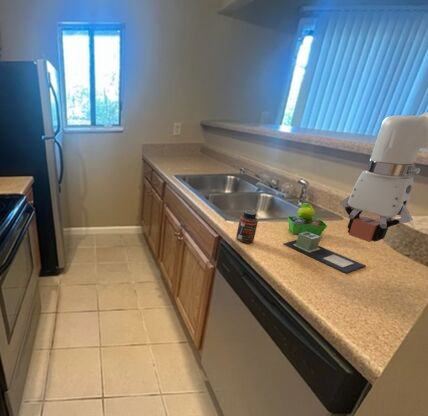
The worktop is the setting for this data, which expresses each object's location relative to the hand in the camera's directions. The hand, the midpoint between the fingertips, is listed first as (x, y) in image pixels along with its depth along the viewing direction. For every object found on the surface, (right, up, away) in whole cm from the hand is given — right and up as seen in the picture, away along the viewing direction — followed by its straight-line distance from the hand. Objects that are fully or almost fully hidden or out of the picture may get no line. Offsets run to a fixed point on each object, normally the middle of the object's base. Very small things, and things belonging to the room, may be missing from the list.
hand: (364, 235), depth 73 cm
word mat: (+5, -9, +20) cm, 22 cm away
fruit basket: (+10, -2, +36) cm, 38 cm away
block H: (+3, -6, +24) cm, 25 cm away
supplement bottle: (-16, -5, +30) cm, 35 cm away
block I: (0, 0, 0) cm, 0 cm away
